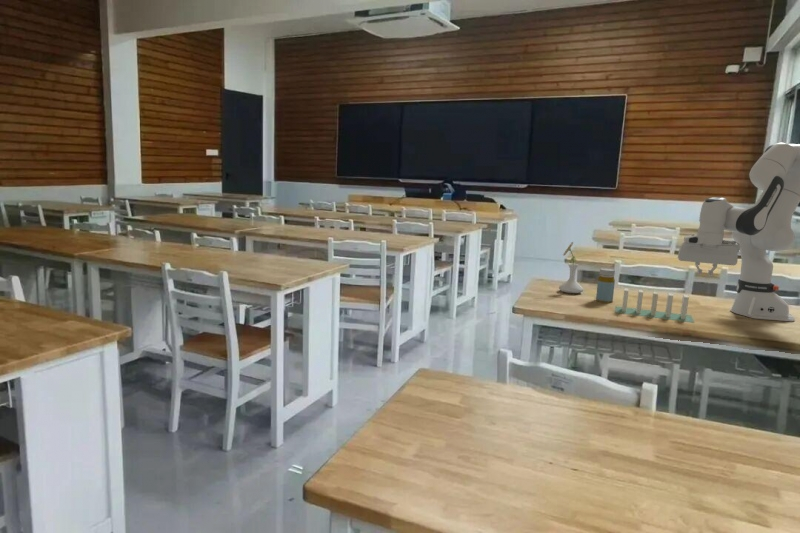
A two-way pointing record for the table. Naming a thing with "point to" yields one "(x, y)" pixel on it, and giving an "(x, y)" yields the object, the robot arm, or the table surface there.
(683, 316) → the domino
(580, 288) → the flower in vase
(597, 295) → the bottle
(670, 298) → the domino
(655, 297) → the domino
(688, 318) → the felt runner
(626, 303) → the domino end
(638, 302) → the domino
